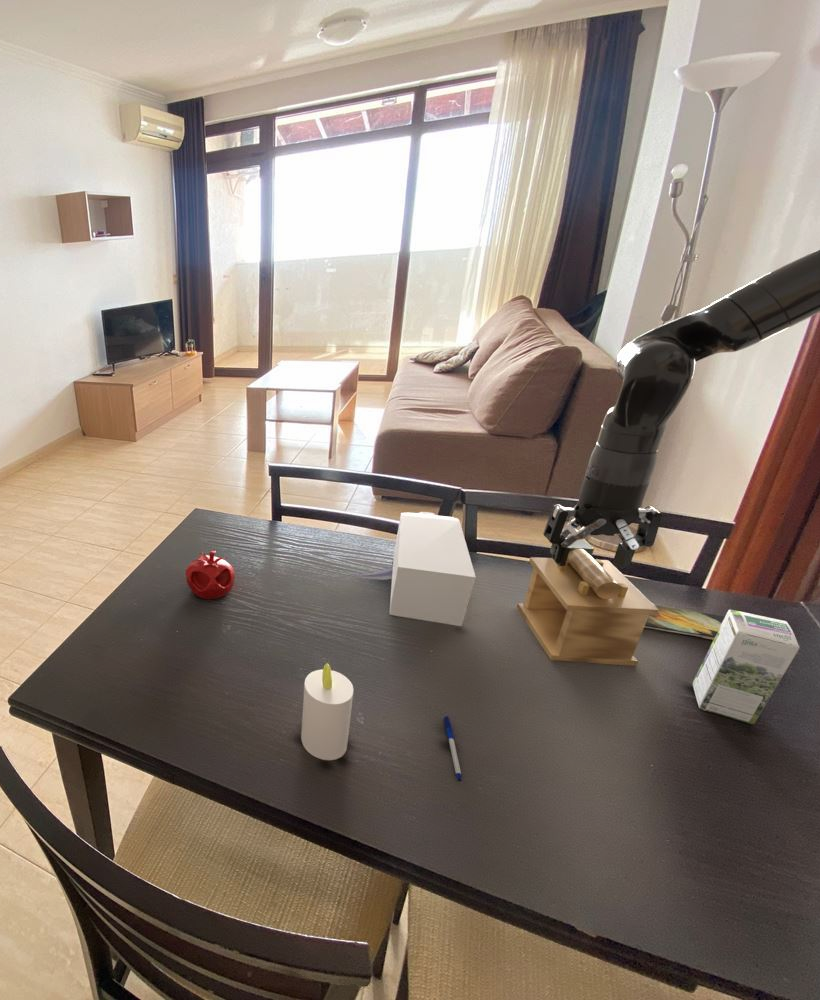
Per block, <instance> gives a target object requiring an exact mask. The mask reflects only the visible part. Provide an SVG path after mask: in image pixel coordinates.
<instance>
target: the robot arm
mask: <svg viewBox="0 0 820 1000" xmlns="http://www.w3.org/2000/svg"><path fill="white" fill-rule="evenodd" d="M819 313H820V249H818V250H815V251H813V252H811V253H808V254H806V255H804V256H802V257H800V258H798V259H795V260H793V261H790V262H789V263H787V264H785V265H783V266H781V267H778V268H777V269H775V270H773V271H771V272H769V273H767V274H764V275H763V276H761V277H759V278H757V279H755V280H752V281H751V282H749V283H748V284H746V285H744V286H742V287H739V288H738V289H736V290H734V291H733V292H731V293H729V294H727V295H725V296H724V297H722V298H720V299H718V300H716V301H714V302H712V303H711V304H710V305H708V306H706V307H703V308H701V309H700V310H697V311H694V312H692V313H688V314H687V315H683V316H681V317H678V318H676V319H674V320H672V321H669V322H667V323H664V324H662V325H659V326H658V327H655V328H653V329H650V330H649V331H647V332H645V333H643V334H641V335H639V336H637V337H636V338H634V339H633V340H631V341H630V342H628V343H627V344H625V346H624V347H622V349H621V350H620V351H619V353H618V354H617V356H616V359H615V371H616V373H617V374H618V377H620V378H621V379H622V385H621V387H620V392H619V394H618V397H617V399H616V403H615V405H614V406H612V407H610V408H609V409H608V410H607V411H606V413H605V415H604V418H603V421H602V423H601V427H600V430H599V434H598V437H597V440H596V444H595V446H594V448H593V450H592V452H591V455H590V457H589V461H588V464H587V467H586V470H585V474H584V477H583V481H582V484H581V488H580V491H579V494H578V502H577V504H576V505H575V506H574V507H565V506H562V505H561V504H559V503H556V504H554V505H553V506H552V507H551V510H550V513H549V516H548V519H547V522H546V524H545V527H544V530H543V536H544V538H545V539H547V540H548V542H549V543H550V544H551V545H552V544H555V546H554V549H553V553H552V554H551V558H552V559H553V560H554V561H555V562H556V564H557V565H558V566H565V564H566V561H567V558H568V554H569V551H570V547H569V546H570V545H571V544H573V543H574V542H575V541H577V540H581V539H585V538H586V537H587V536H589V535H590V536H599V535H600V536H601V535H604V536H608V537H614V536H615V535H617V536H618V538H619V540H621V542H619V543H618V545H617V548H616V551H615V554H614V557H613V560H612V564H613V565H614V566H615V567H616V568H617V569H623V570H624V569H626V568H627V567H628V566H630V564H631V563H632V560H633V558H634V555H635V552H636V550H638V549H639V548H640V547H652V546H654V544H655V542H656V538H657V535H658V531H659V528H660V524H661V520H662V517H663V514H662V513H661V512H659V510H657V509H655V508H654V507H653V506H651V505H646V506H644V507H643V508H641V507H642V505H643V503H644V499H645V496H646V494H647V491H648V487H649V485H650V482H651V479H652V478H653V477H652V476H653V474H654V470H655V468H656V465H657V459H658V453H659V450H660V447H661V445H662V441H663V438H664V435H665V433H666V430H667V425H668V422H669V420H670V418H671V417H672V415H673V414H674V413H675V411H676V410H677V408H678V407H679V404H680V403H681V401H682V400H683V399H684V396H685V394H686V393H687V391H688V389H689V388H690V385H691V383H692V380H693V377H694V374H695V369H696V368H695V367H696V362H699V361H701V360H704V359H705V358H708V357H711V356H712V355H716V354H720V353H735V352H738V351H742V350H744V349H746V348H749V347H752V346H754V345H756V344H758V343H760V342H762V341H764V340H767V339H769V338H770V337H772V336H774V335H777V334H779V333H781V332H783V331H785V330H787V329H789V328H791V327H793V326H795V325H797V324H799V323H801V322H804V321H805V320H807V319H809V318H811V317H813V316H815V315H817V314H819ZM571 517H574V518H573V519H572V520H571V521H570V519H571ZM637 520H638V521H639V522H638V525H637V529H636V532H635V535H634V533H633V532H632V530H631V529H630V527H629V526H630V525H631V524H633V523H634V522H636V521H637ZM566 522H567V524H566ZM565 524H566V525H565ZM578 527H580V529H578Z"/></svg>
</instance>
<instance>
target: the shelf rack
mask: <svg viewBox="0 0 820 1000" xmlns="http://www.w3.org/2000/svg"><path fill="white" fill-rule="evenodd" d="M594 560H595V561H596V562H597V563H598V564H599V565H600V566H601V567H602V568H603V569H604V570H605V571H606V572H607V573H608V574H609V575H610V576H611V577H612V578H613V579H614V580H615V581H616V582H617V583H618V584H619V585H620V587H621V592H620V594H619V595H618V596H616V597H614V598H612V599H602V598H600V597H598V596H597V594H596V593H595V592H594V591H593V590H592V589H591V588H590V587H589V585H588V584H587V582H585V581H584V580H583V579H582V578H581V576H580V575H579V574H578V573H577V572H576V571H575V570H574V569H573V567H572V566H571V565H570V564H567V563H568V561H566V564H565V566H558V565H557V564H556V562H555V561H554V560H553V559H552V557H538V556H537V557H536V556H535V557H534V556H533V557H532V556H530V557H529V561H528V562H529V564H530V565H531V566H532V568H533V569H532V573H531V576H530V579H529V584H528V587H527V591H526V595H525V598H524V602H522V603H521V602H518V603H517V605H516V609H517V610H518V612H519V613H520V615H521V616H522V618H523V619H524V622H525V623H526V624H527V626H528V627H529V628H530V630H531V632H532V633H533V635H534V636H535V638H536V640H537V641H538V643H539V644H540V646H541V647H542V649H543V650H544V652H545V654H546V655H547V657H548V658H549V659H550V660H551V661H559V662H560V661H562V662H573V663H574V662H576V663H577V662H578V663H589V664H601V665H602V664H603V665H615V666H616V665H617V666H631V667H637V665H638V660H637V658H636V657H635V656H634V654H635V651H636V650H637V649H636V648H637V646H638V643H639V641H640V640H641V636H642V633H643V632H644V629H645V628H644V626H645V624H646V621H647V619H648V616H649V615H657V614H658V611H659V610H658V609H657V608H656V607H655V606H654V605H655V604H654V603H653V602H652V601H651V600H649V598H647V597H646V596H645V594H643V593H642V592H641V590H639V589H638V587H637V586H635V585H634V584H633V583H632V582H631V581H630V580H629V579H628V578H627V577H626V576H625V575H624V574H623V573H622V572H621V571H620V570H619V568H618V567H617V566H616V565H615V564H613V563H612V562H611V561H610V560H609V559H598V558H596V559H595V558H594Z"/></svg>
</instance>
